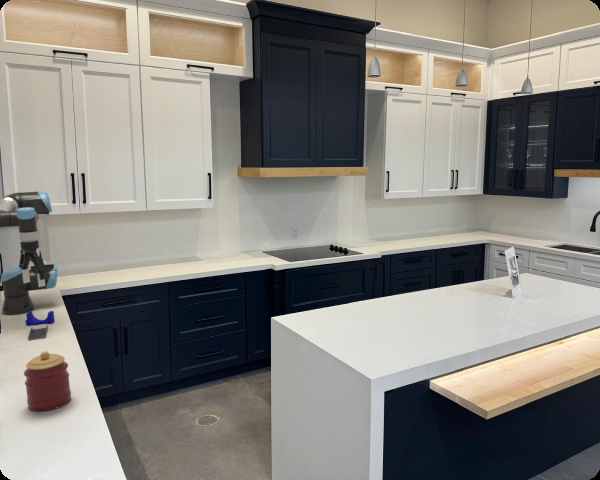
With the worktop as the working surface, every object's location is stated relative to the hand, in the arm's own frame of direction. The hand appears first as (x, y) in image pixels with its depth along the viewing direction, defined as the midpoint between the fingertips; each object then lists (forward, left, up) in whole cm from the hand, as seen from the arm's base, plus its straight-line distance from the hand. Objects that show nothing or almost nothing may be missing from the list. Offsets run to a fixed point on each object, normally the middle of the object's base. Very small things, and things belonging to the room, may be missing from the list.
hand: (34, 284), depth 239 cm
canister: (+88, +10, -22) cm, 92 cm away
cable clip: (-8, 0, -22) cm, 24 cm away
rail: (+9, 0, -22) cm, 24 cm away
